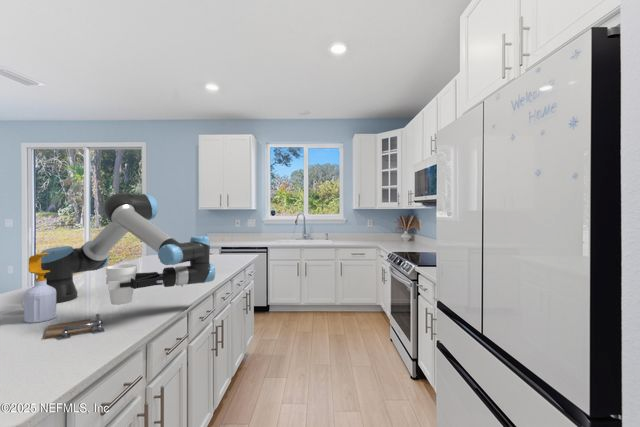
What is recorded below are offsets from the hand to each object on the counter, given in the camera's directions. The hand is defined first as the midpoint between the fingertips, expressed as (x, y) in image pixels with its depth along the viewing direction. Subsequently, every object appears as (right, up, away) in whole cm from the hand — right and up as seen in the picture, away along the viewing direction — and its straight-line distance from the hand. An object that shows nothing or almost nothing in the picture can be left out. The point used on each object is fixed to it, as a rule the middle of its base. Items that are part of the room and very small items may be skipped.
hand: (107, 283), depth 115 cm
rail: (-5, -15, -5) cm, 16 cm away
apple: (-37, -14, +13) cm, 42 cm away
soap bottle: (-28, -15, +5) cm, 32 cm away
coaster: (-9, -15, -5) cm, 18 cm away
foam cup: (+3, -8, +3) cm, 9 cm away
